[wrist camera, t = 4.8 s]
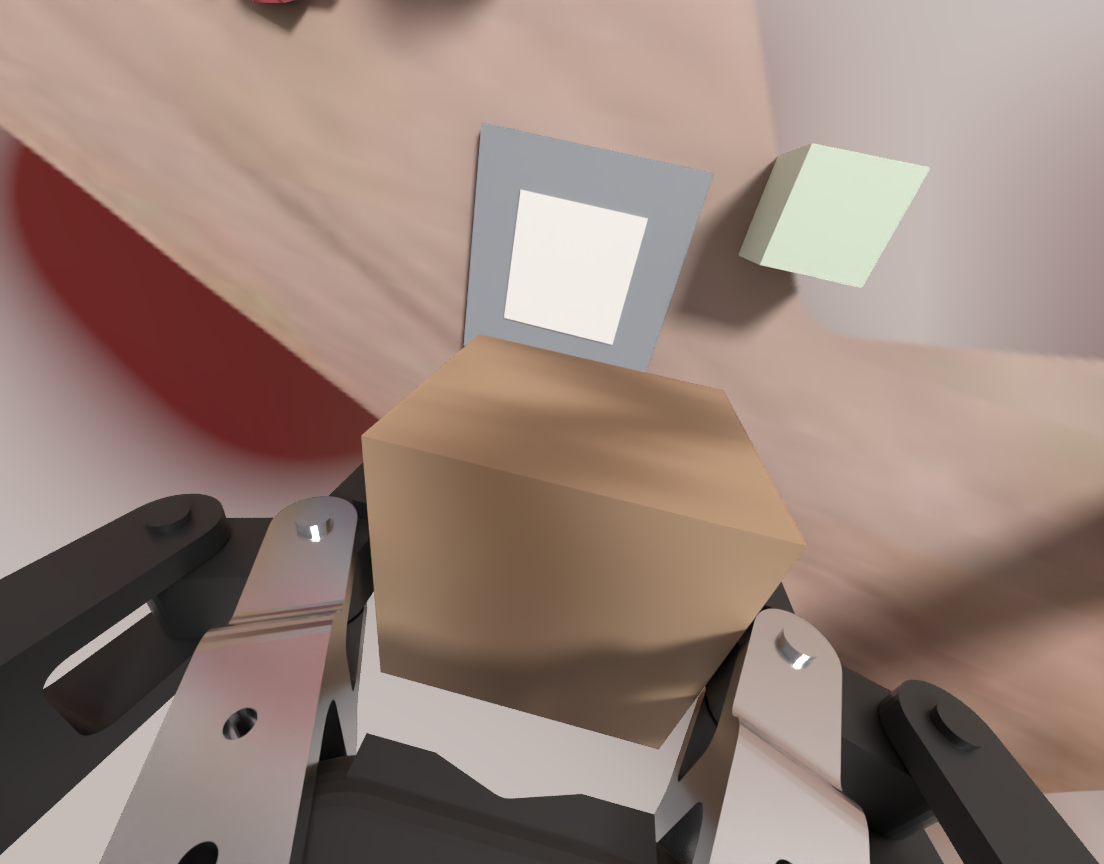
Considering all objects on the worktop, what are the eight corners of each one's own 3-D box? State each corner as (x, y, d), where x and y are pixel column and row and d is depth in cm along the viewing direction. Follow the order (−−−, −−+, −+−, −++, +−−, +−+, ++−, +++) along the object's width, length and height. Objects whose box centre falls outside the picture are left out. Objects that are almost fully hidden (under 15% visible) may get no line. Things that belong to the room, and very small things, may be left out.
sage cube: (870, 176, 19) (930, 167, 15) (820, 274, 21) (861, 288, 17) (777, 156, 19) (812, 143, 15) (737, 255, 22) (759, 264, 18)
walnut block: (723, 390, 9) (807, 546, 5) (647, 562, 12) (658, 748, 8) (479, 333, 10) (360, 435, 5) (463, 514, 13) (380, 672, 8)
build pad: (711, 174, 20) (714, 172, 19) (639, 387, 26) (639, 391, 26) (485, 124, 21) (480, 122, 20) (466, 343, 27) (463, 345, 26)
